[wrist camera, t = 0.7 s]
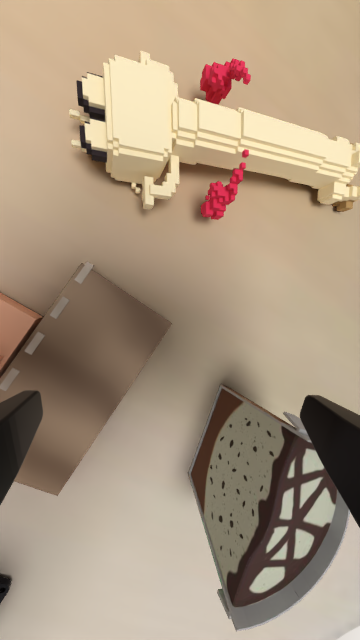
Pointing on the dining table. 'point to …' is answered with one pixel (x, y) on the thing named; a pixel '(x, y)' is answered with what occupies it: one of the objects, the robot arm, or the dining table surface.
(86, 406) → the ticket board
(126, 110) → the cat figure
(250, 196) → the dining table surface
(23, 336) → the stub
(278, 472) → the food container
